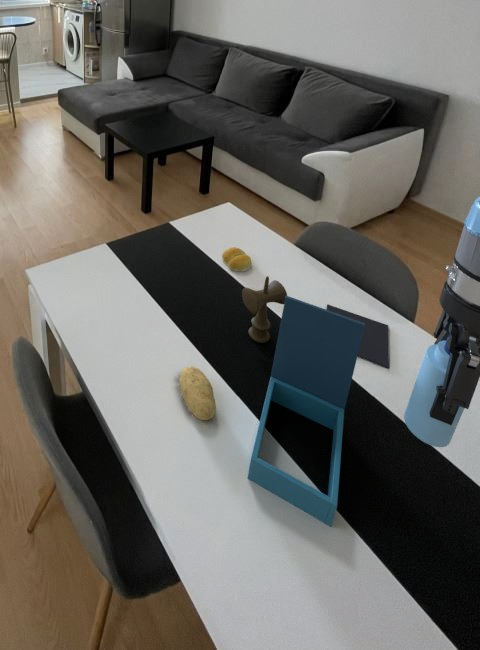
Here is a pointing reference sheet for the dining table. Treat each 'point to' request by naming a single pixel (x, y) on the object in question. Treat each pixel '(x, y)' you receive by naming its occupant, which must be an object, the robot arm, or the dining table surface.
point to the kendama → (262, 307)
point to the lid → (317, 350)
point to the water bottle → (430, 398)
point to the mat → (370, 338)
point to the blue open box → (285, 483)
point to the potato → (197, 393)
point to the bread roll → (236, 259)
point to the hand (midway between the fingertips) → (437, 399)
